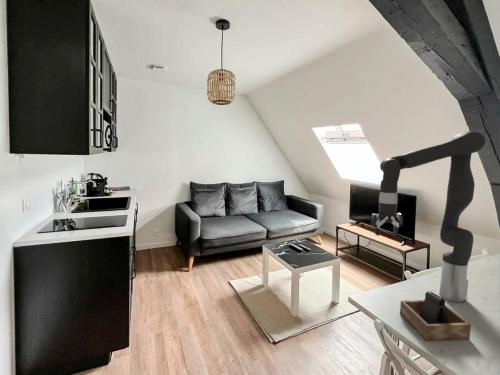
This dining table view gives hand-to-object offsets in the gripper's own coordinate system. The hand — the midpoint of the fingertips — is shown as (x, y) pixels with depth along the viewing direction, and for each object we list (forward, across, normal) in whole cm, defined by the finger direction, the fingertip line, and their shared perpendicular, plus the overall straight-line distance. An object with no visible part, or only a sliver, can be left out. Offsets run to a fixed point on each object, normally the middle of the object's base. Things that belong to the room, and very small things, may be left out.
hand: (386, 234), depth 126 cm
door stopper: (+27, -5, +27) cm, 39 cm away
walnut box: (+28, -5, +27) cm, 39 cm away
